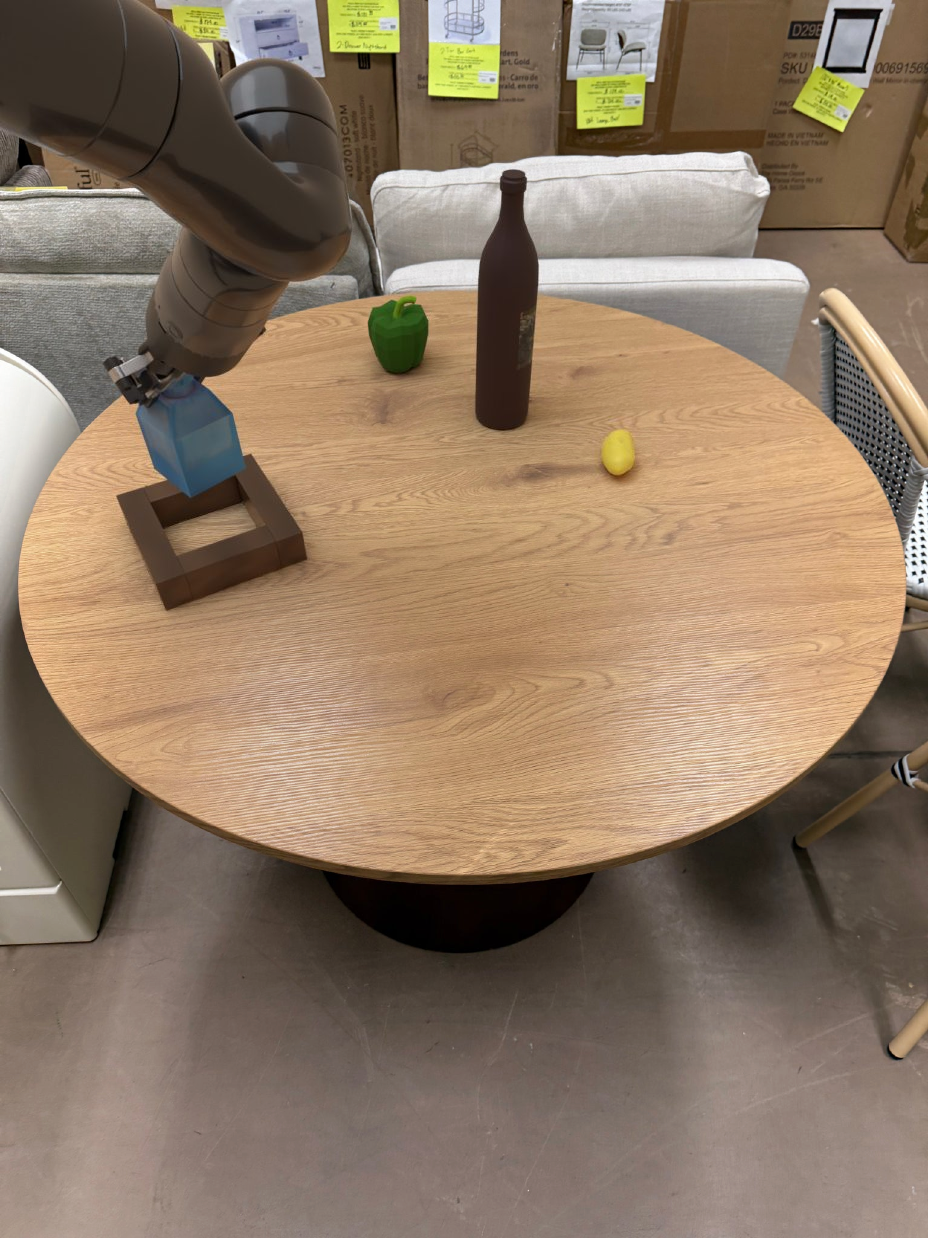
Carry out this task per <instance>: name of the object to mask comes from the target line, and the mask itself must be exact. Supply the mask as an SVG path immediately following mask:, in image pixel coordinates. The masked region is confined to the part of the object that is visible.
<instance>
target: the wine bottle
mask: <svg viewBox="0 0 928 1238" xmlns="http://www.w3.org/2000/svg"><path fill="white" fill-rule="evenodd" d="M527 189H528V177H527V176H526V172H525V171H523V170H522V169H517V168H515V169H513V168H512V169H506V170H503V171H502V172H501V176H500V177H499V190H500V192H501V193H500V207H499V208H500V209H499V215H498V219H497V221H496V223H495V225H494V228H493V230H492V232H491V233H490V235H489V237H488V239H487V240H486V242H485V245H484V246H483V249H482V251H481V256H480V259H479V264H478V278H477V306H476V307H477V308H476V309H477V310H476V311H477V313H476V352H475V354H476V355H475V390H474V391H475V392H474V393H475V394H474V395H475V396H474V413H475V416H476V417H475V418H476V419H477V421H478V422H479V423H480V424H482V425H483V426H485V427H488V428H491V429H495V430H511V429H515V428H517V427H519V426H522V424H524V423H525V421H526V420H527V417H528V414H529V405H530V394H531V381H532V370H533V369H532V368H533V357H534V343H535V341H534V340H535V333H536V331H535V330H536V319H537V307H538V306H537V305H538V294H539V293H538V292H539V281H540V279H539V276H540V275H539V274H540V263H539V255H538V251H537V248H536V246H535V245H536V244H535V242H534V241H533V239H532V236H531V234H530V232H529V229H528V226H527V224H526V220H525V208H524V204H525V193H526V191H527Z"/></svg>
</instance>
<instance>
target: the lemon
mask: <svg viewBox="0 0 928 1238" xmlns="http://www.w3.org/2000/svg"><path fill="white" fill-rule="evenodd" d="M634 444H635V442H634V438H633V435H632V434H631V432H629V431H628V430H626V429H615V430H613V431H612V432H610V433H609V434H608V435H607V437H606V438H605V439H604V441H603V443H602V446H601V450H600V454H601V455H600V456H601V458H600V459H601V461H602V463H603V465H604V467H605V469H606V470H607V471H608V472H609V473H610V474H611V475H613V476H621V475H623V474H624V473H627V472H628V471H630V470H631V469H632V468H633V466H634V463H635V461H636V460H635V458H636V457H635V456H636V450H635V445H634Z"/></svg>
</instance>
